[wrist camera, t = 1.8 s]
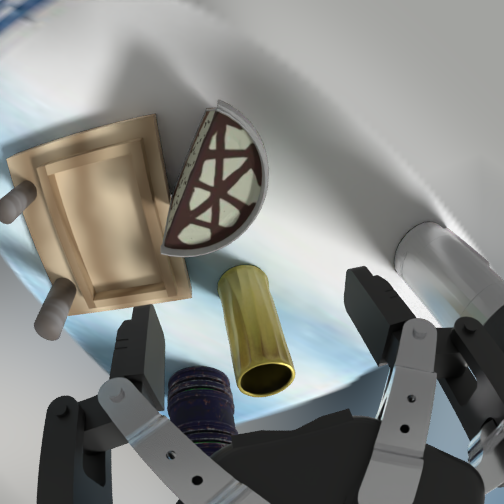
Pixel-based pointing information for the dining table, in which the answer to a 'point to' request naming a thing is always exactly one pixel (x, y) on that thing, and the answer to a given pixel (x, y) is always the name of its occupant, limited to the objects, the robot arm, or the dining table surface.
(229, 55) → the dining table surface
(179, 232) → the half lattice cake
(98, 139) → the carrier board
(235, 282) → the vase
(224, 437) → the storage jar
